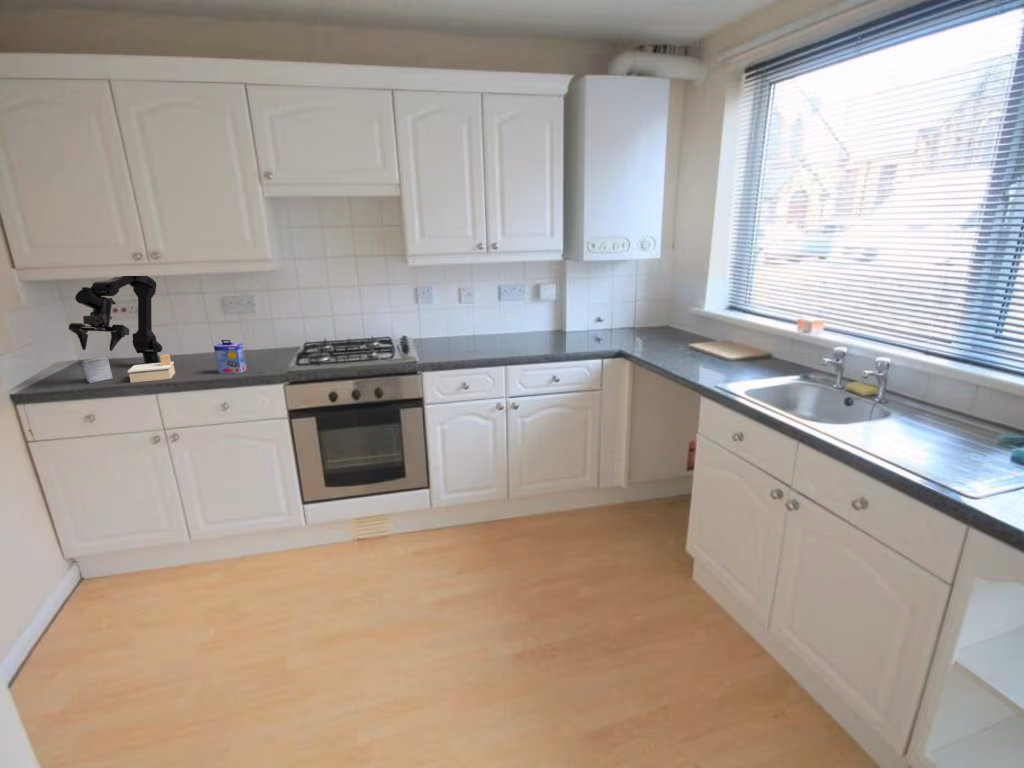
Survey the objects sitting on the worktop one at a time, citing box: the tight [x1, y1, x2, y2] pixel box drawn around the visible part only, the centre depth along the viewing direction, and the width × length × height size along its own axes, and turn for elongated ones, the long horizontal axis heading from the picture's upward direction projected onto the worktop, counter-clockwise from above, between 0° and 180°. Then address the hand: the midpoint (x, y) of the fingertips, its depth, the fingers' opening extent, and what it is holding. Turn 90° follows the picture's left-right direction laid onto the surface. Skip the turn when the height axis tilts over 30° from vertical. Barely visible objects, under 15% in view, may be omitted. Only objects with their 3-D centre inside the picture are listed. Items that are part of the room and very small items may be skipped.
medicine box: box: [81, 357, 113, 384], centre depth 221 cm, size 8×4×9 cm, turn 141°
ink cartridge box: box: [213, 339, 247, 374], centre depth 229 cm, size 10×6×14 cm, turn 93°
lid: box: [127, 354, 175, 374], centre depth 223 cm, size 10×14×5 cm
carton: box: [128, 364, 176, 384], centre depth 224 cm, size 10×14×4 cm
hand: (97, 350), depth 211 cm, fingers open, 9 cm apart
